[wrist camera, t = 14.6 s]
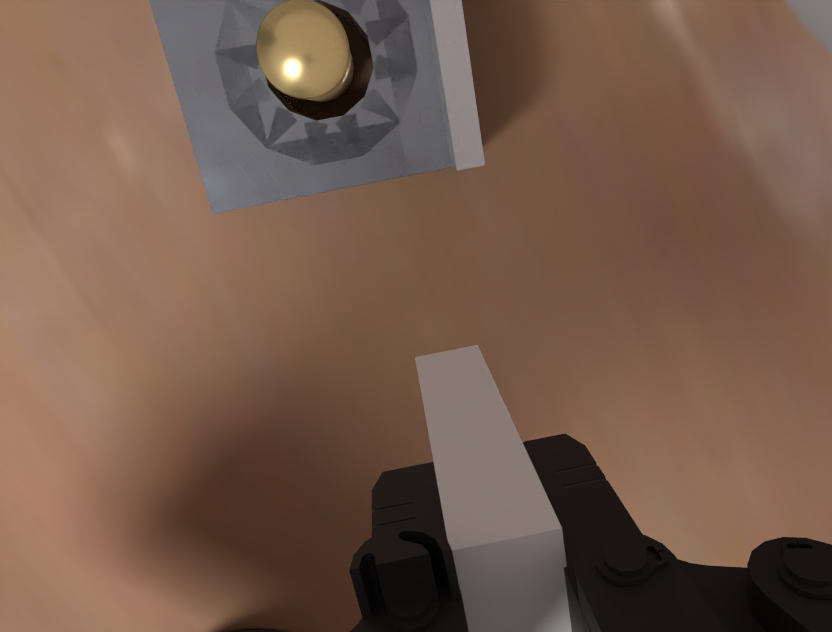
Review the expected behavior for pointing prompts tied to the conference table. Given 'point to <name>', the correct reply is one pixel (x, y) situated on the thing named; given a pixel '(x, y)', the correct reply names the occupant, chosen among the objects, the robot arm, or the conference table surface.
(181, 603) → the conference table surface
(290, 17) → the cylinder
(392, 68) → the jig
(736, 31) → the conference table surface
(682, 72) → the conference table surface
